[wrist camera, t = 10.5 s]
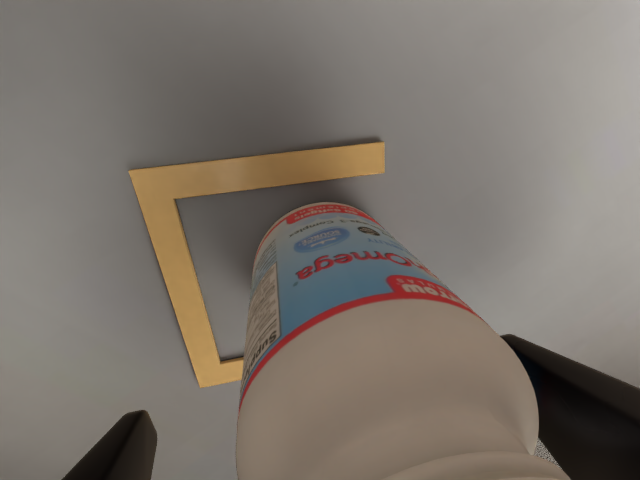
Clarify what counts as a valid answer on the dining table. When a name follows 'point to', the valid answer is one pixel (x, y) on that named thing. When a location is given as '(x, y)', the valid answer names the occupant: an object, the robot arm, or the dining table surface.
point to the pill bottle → (373, 366)
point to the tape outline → (213, 178)
